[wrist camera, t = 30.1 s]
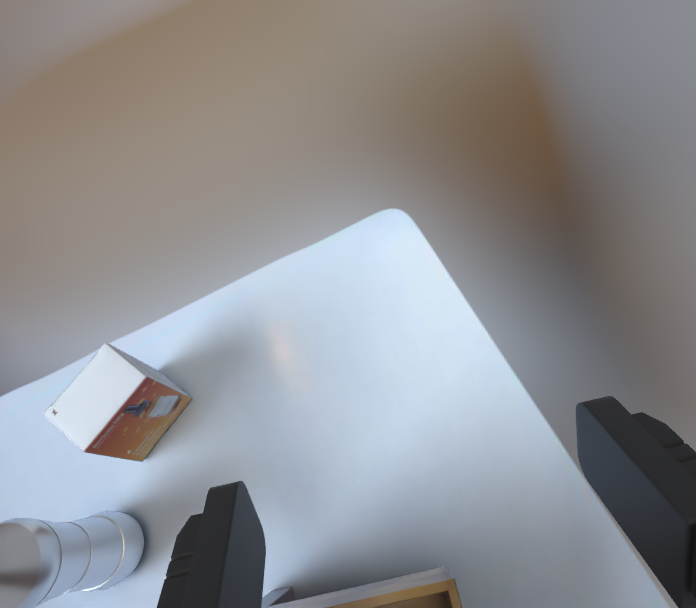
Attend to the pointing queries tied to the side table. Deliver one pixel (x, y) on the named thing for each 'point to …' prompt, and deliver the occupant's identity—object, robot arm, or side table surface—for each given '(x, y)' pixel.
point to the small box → (117, 406)
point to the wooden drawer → (380, 594)
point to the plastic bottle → (65, 556)
